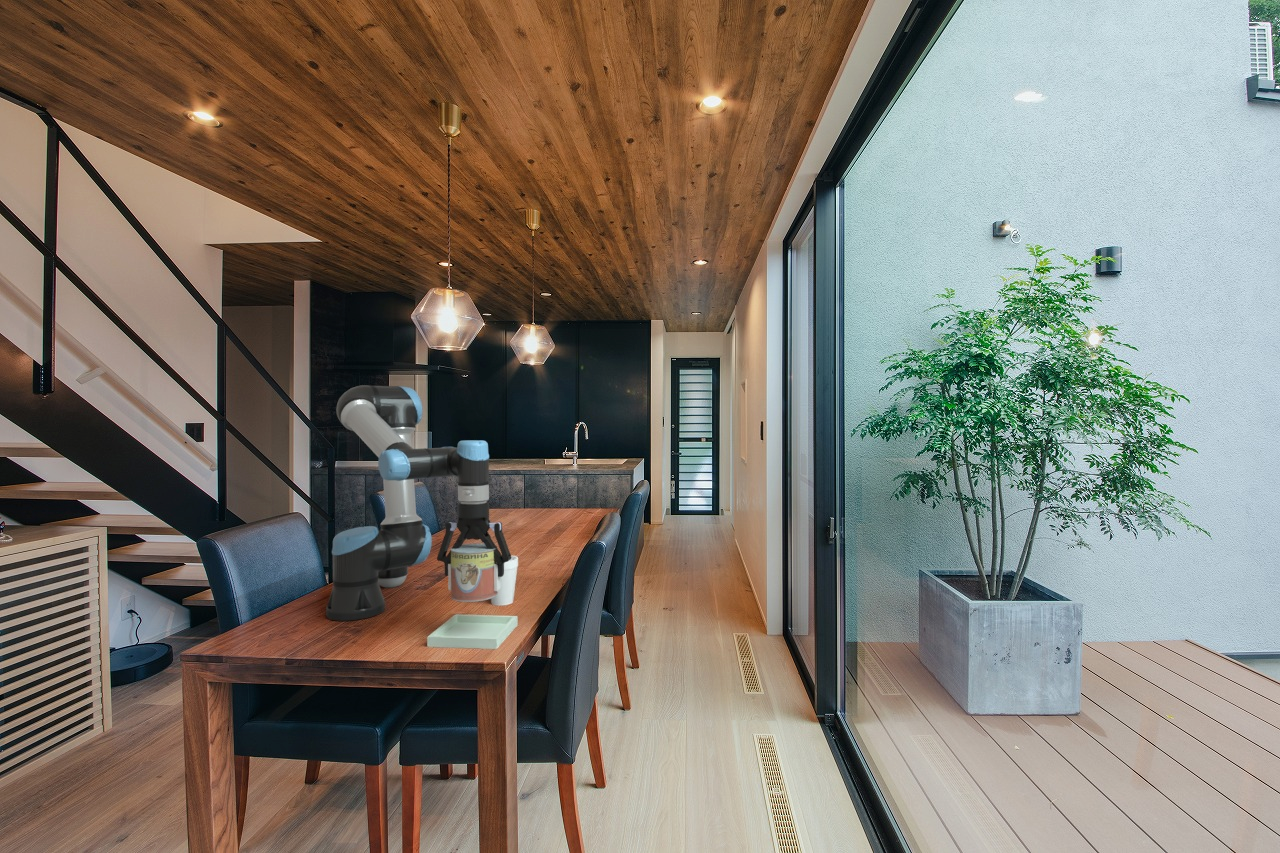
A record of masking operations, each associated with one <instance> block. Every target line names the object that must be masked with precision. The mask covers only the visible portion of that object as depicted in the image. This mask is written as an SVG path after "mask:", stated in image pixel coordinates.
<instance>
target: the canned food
mask: <svg viewBox="0 0 1280 853" xmlns="http://www.w3.org/2000/svg"><path fill="white" fill-rule="evenodd" d="M496 548H498V546H497V545H496ZM496 548H494V549H487V547H486V545H485V544H484V543H483V542H482V543H481V542H477V543H463V544H462V545H461V547H459V548H457V549H452V547H451V548H450V550H451V590H450V591H451V595H450V598H451V600H453V601H456V602H462V603H474V602H481V601H483V602H484V601H487V600H491V598H493V597H495V596H497V594H498V592H497V591H494V564H496V563H497V562H496V561H495V559H494V550H495V549H496Z"/></svg>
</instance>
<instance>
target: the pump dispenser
mask: <svg viewBox="0 0 1280 853" xmlns="http://www.w3.org/2000/svg"><path fill="white" fill-rule="evenodd" d="M408 568H409V567H401V568H396V569H390V570H385V571H379V572H378V583H379V586H380V587H382V588H387V589H388V588H389V589H390V588H391V589H392V588H397V587H399V586H401V585H403V583H405V581H406V579H407V576H408V574H409V569H408Z"/></svg>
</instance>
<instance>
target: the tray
mask: <svg viewBox="0 0 1280 853" xmlns="http://www.w3.org/2000/svg"><path fill="white" fill-rule="evenodd" d="M518 619H519V618H518V615H494V614H493V615H491V614H490V615H488V614H459V613H458V614H454V615H453V616H451V617H450V618H449V619H447V620H446V621H445V622H444V623H443V624H441V625H440V626H438V627H437V629H435V630H434V631H432V632H431V633H430V634H429V635H428V636H427V639H426V640H427V642H426V643H427V644H426V645H427V648H446V649H447V648H450V649H455V648H456V649H479V650H480V649H482V650H483V649H484V650H497V649H498V648H499V647H500V646H501V645H502V644H503V642H504V641H505V640H506V639H507V638H508V637H509V636H510V634H511V633H512V632H513V631H514V630H515V629H516V628H517V627H518V625H519V624H518Z"/></svg>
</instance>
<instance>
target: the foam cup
mask: <svg viewBox="0 0 1280 853" xmlns="http://www.w3.org/2000/svg"><path fill="white" fill-rule="evenodd" d="M511 557H512V558H511V559H510V560H509V561H508V562H505V563H504V575H503V576H502V577H500V579H501V588H500V589H499V590H498V591H497V592H498V594H497V596H495V597H493V598H491V599H490V602H491V605H493V606H508V605H510V604H513V603H514V598H515V588H516V581H517V573H518V567H519V557H518V556H517V555H512V554H511Z"/></svg>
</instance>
